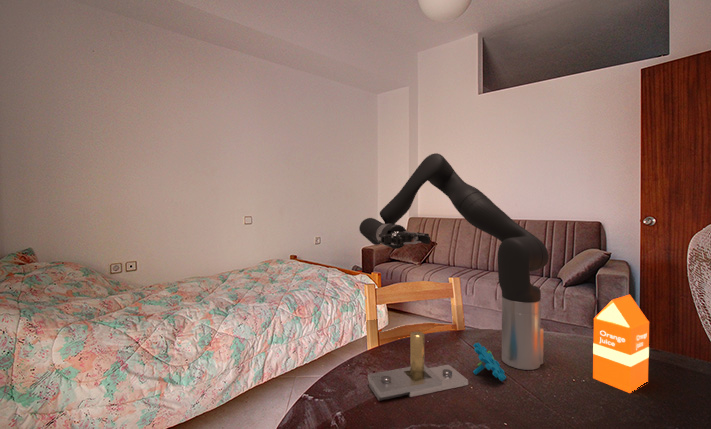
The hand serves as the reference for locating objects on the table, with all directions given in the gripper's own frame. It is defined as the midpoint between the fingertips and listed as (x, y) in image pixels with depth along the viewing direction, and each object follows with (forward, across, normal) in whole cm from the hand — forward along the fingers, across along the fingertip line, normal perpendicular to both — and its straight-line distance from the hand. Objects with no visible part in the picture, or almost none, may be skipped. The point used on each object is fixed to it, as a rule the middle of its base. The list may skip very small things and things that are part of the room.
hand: (415, 241), depth 94 cm
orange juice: (+28, +39, +32) cm, 58 cm away
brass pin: (+14, -7, +32) cm, 36 cm away
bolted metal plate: (+14, -7, +32) cm, 36 cm away
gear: (+16, +12, +32) cm, 38 cm away
